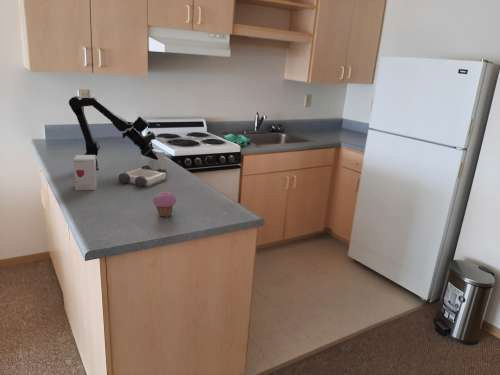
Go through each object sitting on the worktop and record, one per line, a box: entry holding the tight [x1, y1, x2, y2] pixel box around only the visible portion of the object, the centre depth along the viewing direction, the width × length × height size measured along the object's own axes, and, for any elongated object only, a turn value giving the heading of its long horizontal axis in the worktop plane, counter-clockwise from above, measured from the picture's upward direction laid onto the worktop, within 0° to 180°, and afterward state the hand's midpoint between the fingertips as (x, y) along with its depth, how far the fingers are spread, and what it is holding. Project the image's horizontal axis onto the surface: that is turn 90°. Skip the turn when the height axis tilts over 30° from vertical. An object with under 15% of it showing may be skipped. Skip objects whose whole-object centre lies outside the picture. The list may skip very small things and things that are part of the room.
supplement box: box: [73, 154, 98, 191], centre depth 188 cm, size 9×9×15 cm
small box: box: [148, 148, 166, 171], centre depth 225 cm, size 8×6×10 cm
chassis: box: [118, 164, 168, 188], centre depth 206 cm, size 20×17×5 cm
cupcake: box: [152, 191, 177, 217], centre depth 162 cm, size 9×9×10 cm
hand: (157, 157), depth 225 cm, fingers closed on small box, 9 cm apart
